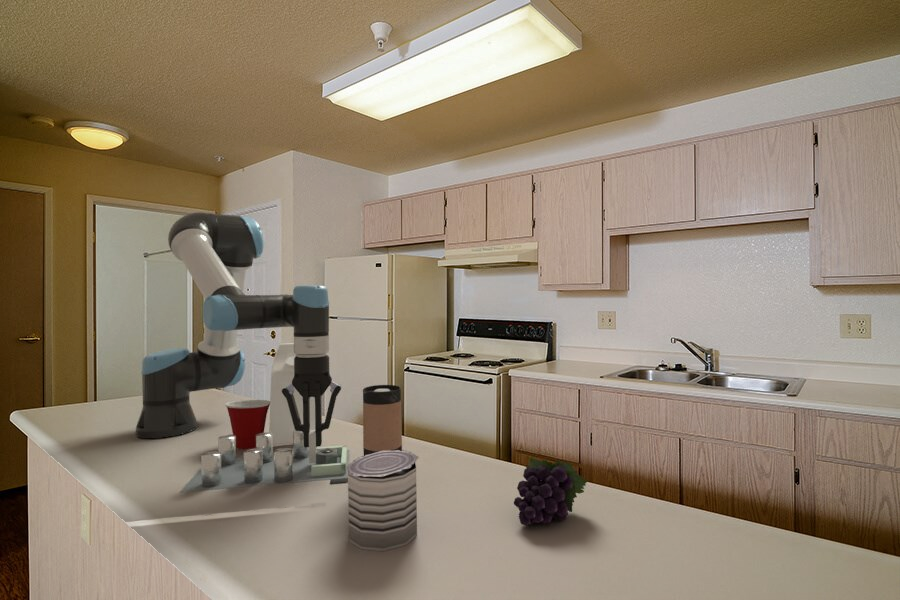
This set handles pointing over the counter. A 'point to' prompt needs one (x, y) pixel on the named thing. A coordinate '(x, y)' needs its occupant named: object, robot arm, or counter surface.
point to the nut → (326, 456)
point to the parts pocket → (331, 468)
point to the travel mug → (382, 419)
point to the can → (382, 500)
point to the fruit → (547, 491)
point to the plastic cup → (247, 421)
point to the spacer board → (264, 475)
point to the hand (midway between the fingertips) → (313, 460)
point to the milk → (279, 406)
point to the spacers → (253, 459)
